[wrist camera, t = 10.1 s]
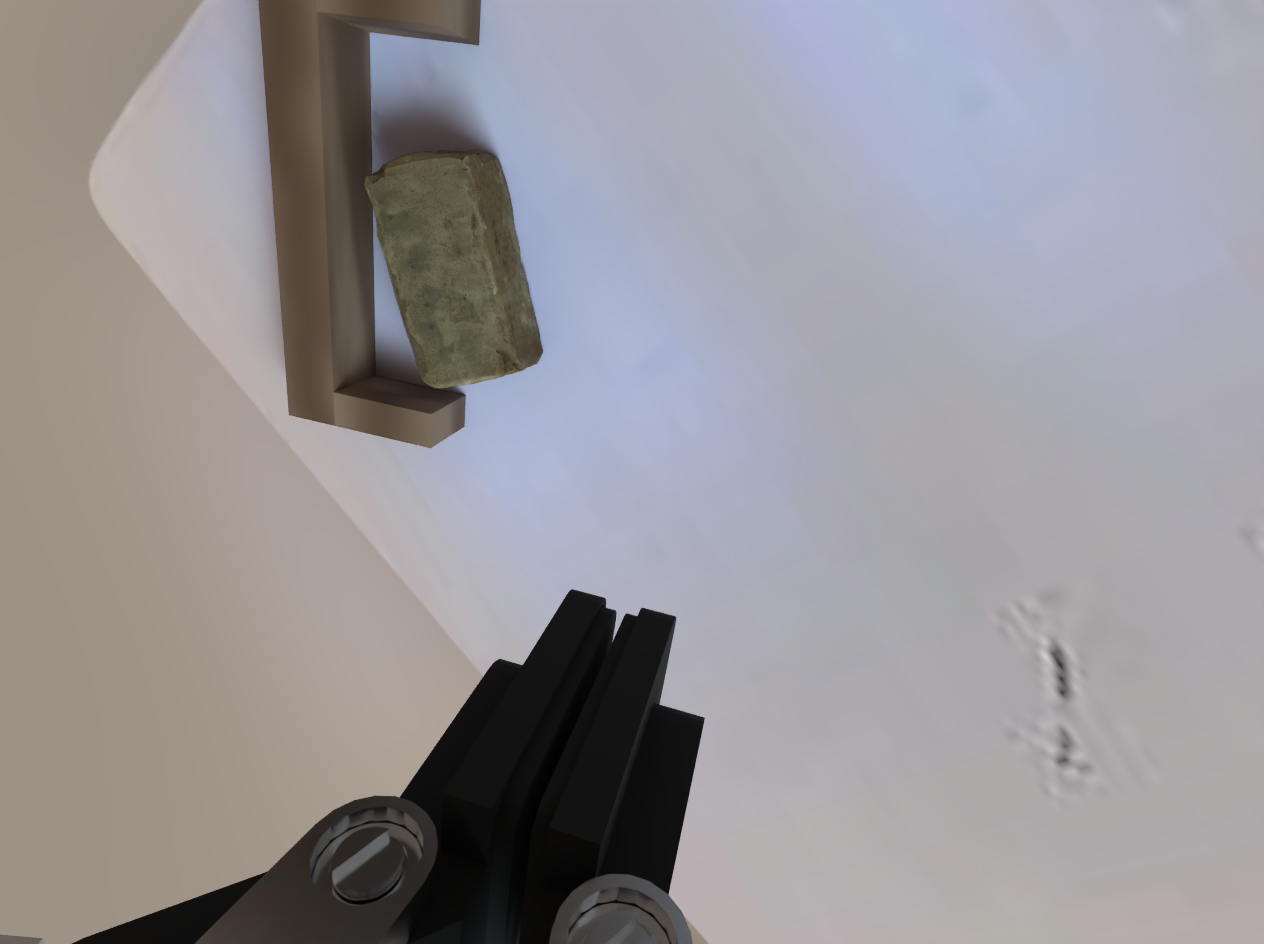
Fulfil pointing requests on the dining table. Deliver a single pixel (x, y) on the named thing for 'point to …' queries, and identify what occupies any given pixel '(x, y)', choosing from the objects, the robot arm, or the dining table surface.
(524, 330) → the stone block
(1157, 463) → the dining table surface
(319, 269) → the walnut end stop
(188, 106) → the dining table surface
